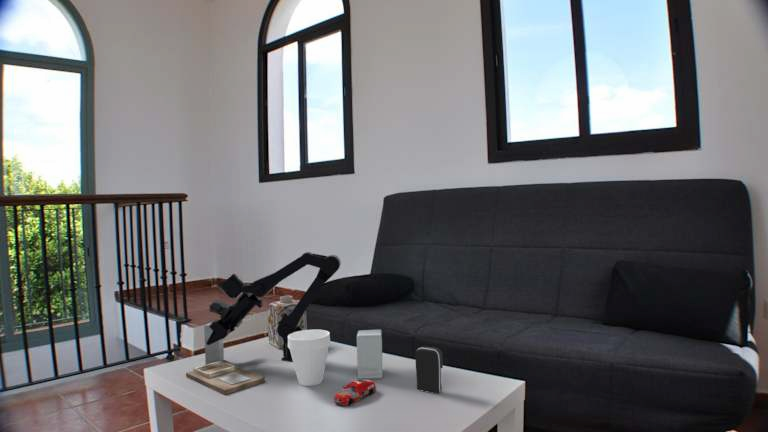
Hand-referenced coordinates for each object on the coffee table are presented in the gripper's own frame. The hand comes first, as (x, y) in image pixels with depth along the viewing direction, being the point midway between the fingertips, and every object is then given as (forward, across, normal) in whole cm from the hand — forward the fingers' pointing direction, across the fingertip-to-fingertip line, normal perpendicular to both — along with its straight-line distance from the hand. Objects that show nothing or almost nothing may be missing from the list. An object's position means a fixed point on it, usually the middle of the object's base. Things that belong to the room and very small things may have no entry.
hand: (209, 342), depth 156 cm
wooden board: (-2, +18, +12) cm, 21 cm away
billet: (+4, 0, +6) cm, 7 cm away
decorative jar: (-11, -20, +21) cm, 31 cm away
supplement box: (-33, +20, +43) cm, 58 cm away
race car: (-30, +37, +41) cm, 63 cm away
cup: (-21, +23, +31) cm, 44 cm away
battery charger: (-45, +34, +55) cm, 79 cm away
